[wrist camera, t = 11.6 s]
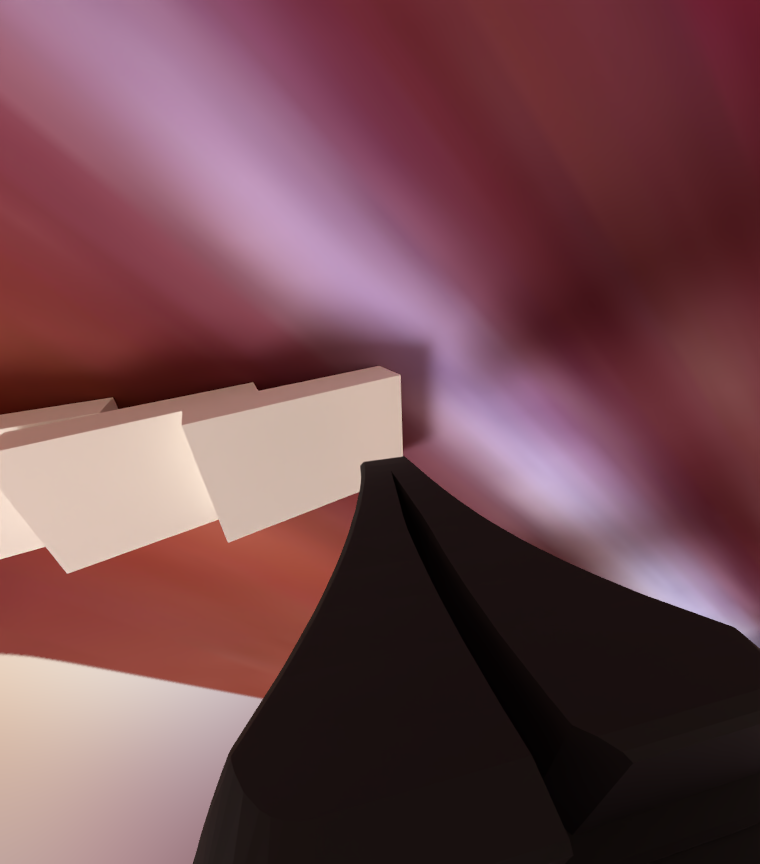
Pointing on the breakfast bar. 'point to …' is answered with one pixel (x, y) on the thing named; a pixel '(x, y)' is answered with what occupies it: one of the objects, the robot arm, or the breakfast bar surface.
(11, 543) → the domino
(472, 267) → the breakfast bar surface
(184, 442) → the domino
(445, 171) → the breakfast bar surface
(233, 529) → the domino
